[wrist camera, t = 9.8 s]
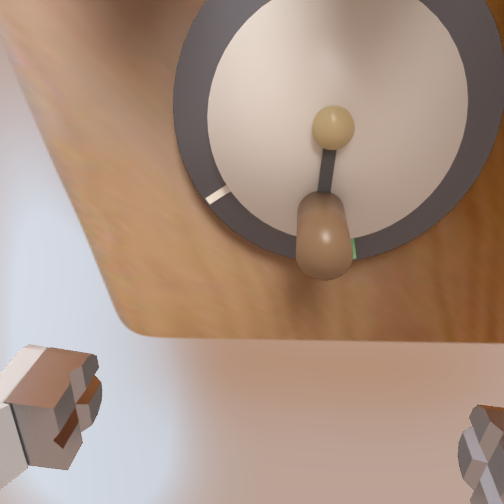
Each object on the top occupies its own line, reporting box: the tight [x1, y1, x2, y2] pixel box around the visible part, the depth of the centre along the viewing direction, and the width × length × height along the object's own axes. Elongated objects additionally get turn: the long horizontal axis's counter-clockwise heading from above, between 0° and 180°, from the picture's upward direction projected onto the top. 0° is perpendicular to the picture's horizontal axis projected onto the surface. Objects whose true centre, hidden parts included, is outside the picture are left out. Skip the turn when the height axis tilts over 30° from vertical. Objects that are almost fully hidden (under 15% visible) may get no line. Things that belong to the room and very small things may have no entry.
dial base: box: [173, 0, 504, 260], centre depth 28 cm, size 20×20×2 cm
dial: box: [207, 0, 468, 280], centre depth 24 cm, size 17×15×7 cm
